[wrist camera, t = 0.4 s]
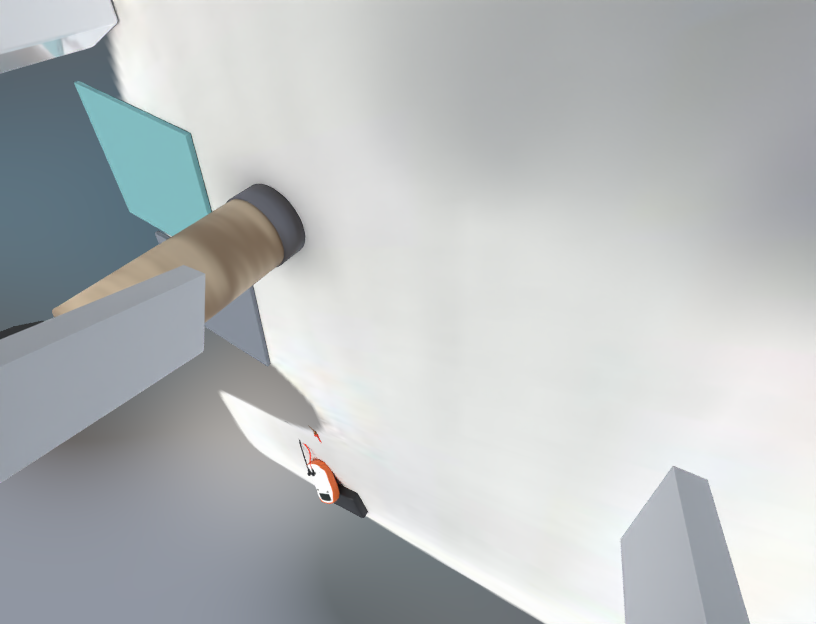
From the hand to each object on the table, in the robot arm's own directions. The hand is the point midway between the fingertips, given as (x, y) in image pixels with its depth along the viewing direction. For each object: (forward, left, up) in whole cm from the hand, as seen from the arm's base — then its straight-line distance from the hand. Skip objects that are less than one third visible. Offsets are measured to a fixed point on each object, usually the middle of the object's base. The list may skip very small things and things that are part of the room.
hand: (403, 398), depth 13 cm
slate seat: (+25, -28, -13) cm, 40 cm away
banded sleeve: (+10, -18, -13) cm, 24 cm away
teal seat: (+12, -31, -13) cm, 36 cm away
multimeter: (+49, -17, -14) cm, 54 cm away
